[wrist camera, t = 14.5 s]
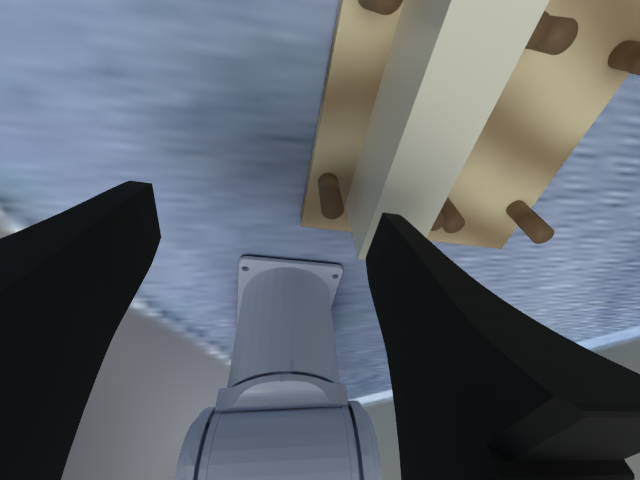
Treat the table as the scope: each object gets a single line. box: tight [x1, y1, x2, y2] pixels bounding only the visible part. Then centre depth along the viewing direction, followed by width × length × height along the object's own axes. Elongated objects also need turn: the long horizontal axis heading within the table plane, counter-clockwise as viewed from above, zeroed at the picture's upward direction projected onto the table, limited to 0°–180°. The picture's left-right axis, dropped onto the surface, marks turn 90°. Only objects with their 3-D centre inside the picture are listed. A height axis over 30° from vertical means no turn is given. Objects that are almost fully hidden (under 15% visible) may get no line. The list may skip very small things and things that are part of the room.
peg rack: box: [301, 0, 640, 249], centre depth 16 cm, size 16×15×4 cm
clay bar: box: [345, 0, 550, 260], centre depth 14 cm, size 12×3×5 cm, turn 169°
